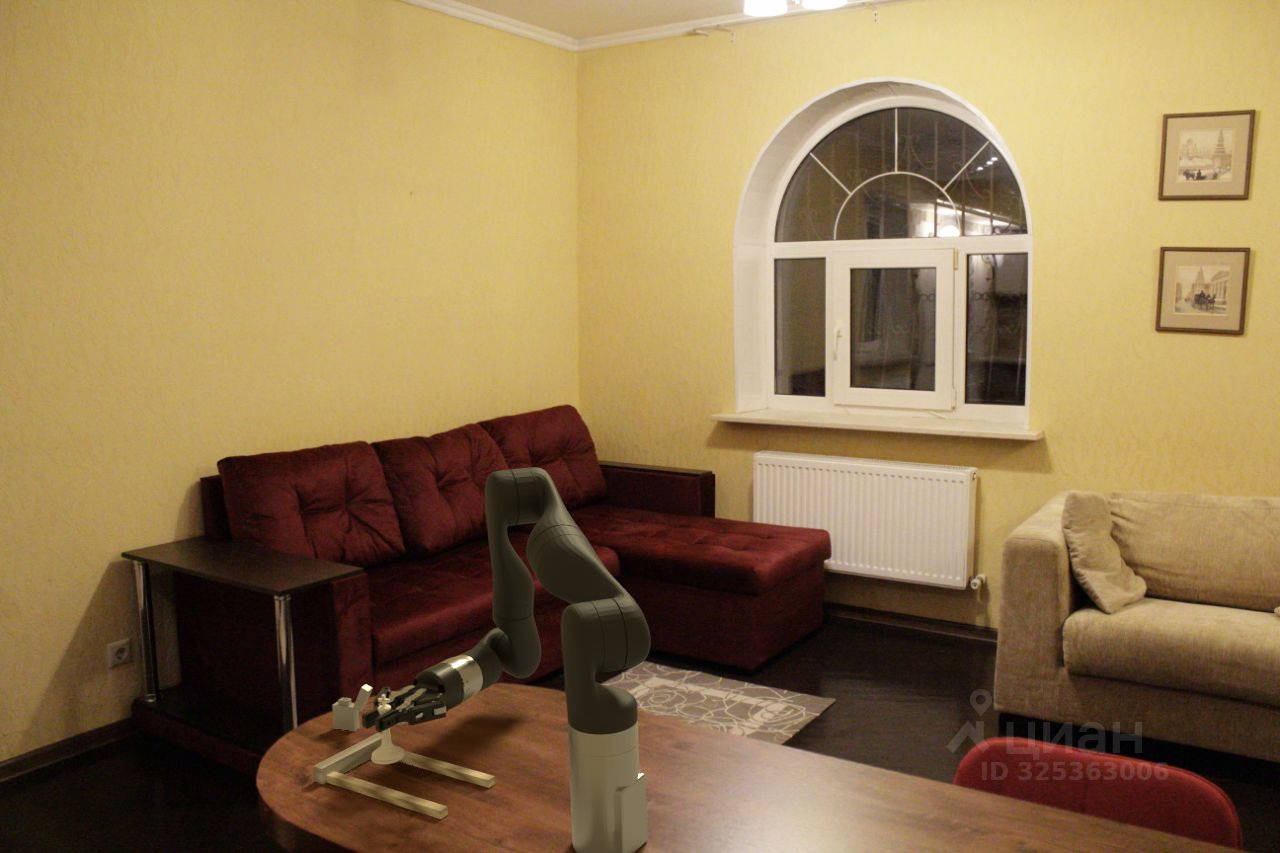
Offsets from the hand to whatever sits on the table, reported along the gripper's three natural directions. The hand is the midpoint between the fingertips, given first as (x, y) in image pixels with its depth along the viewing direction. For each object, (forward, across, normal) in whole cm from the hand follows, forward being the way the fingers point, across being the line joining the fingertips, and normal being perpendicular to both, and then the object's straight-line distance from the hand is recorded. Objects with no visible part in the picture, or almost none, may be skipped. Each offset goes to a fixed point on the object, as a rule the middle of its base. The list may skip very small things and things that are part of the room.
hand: (370, 723), depth 157 cm
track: (-3, +4, +10) cm, 11 cm away
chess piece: (-3, 0, +7) cm, 7 cm away
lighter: (-13, -18, +10) cm, 24 cm away
